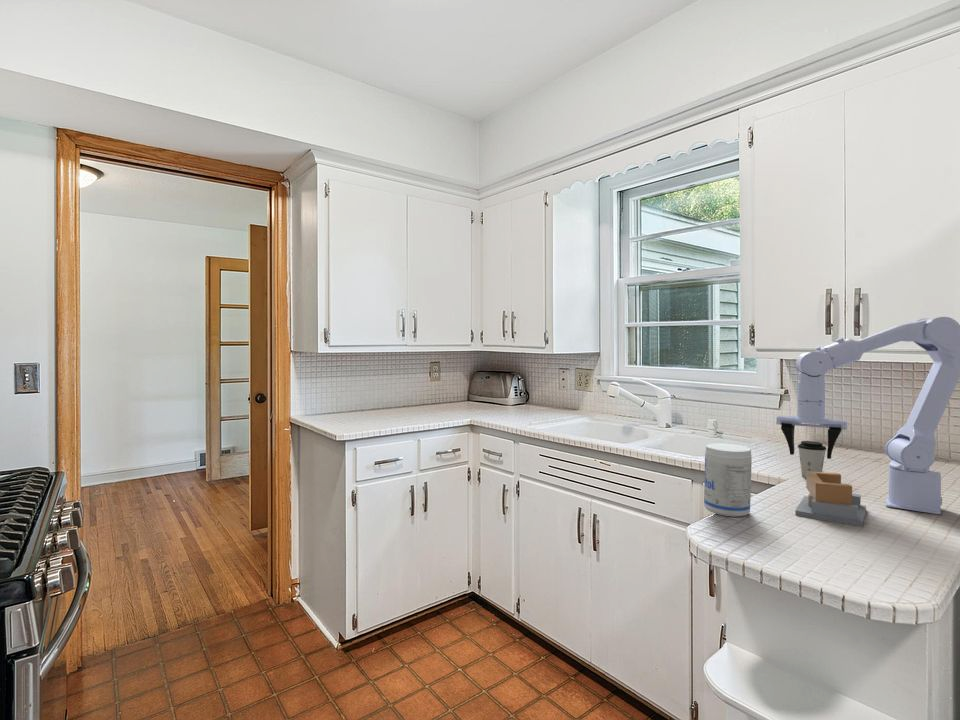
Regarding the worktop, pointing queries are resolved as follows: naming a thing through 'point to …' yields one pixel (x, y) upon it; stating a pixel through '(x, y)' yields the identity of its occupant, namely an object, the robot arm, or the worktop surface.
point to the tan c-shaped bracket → (828, 488)
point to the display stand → (833, 510)
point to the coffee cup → (811, 456)
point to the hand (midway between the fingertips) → (810, 456)
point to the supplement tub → (727, 479)
